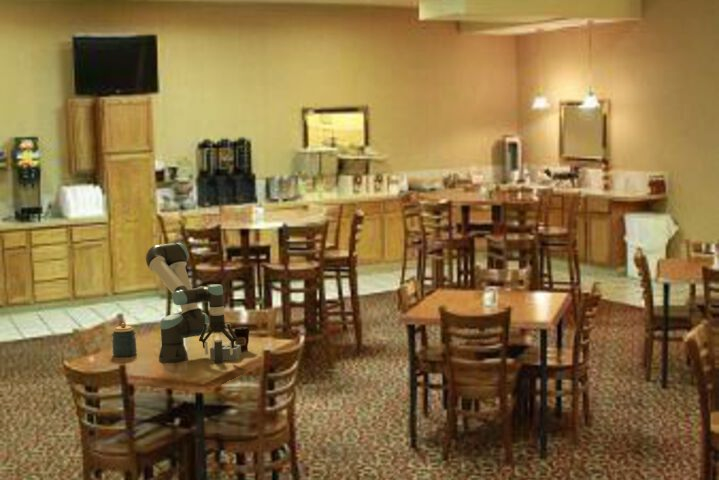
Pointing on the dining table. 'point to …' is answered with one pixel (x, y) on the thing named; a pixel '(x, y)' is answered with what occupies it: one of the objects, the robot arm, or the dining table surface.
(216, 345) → the plug
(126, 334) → the canister
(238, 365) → the dining table surface
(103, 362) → the dining table surface
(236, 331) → the coffee cup
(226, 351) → the socket box
